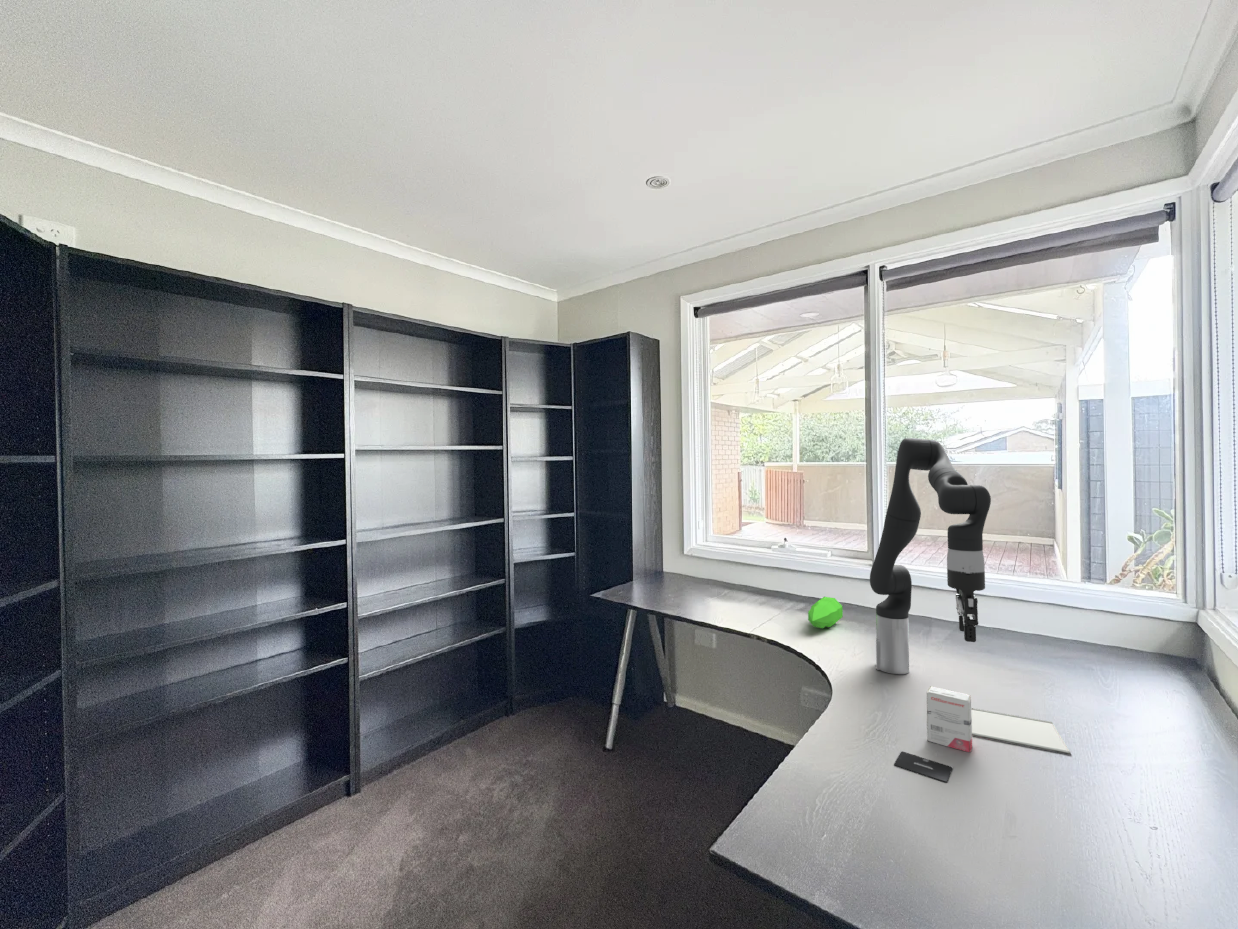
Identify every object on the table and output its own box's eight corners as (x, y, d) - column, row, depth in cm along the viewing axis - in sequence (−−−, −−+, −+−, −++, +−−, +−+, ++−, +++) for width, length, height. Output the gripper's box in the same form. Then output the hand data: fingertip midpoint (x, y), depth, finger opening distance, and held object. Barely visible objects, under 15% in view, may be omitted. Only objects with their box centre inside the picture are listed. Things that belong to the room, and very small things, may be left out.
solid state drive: (901, 754, 119) (901, 751, 119) (953, 770, 112) (952, 767, 112) (893, 767, 114) (893, 764, 114) (947, 785, 107) (947, 782, 107)
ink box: (973, 745, 122) (972, 694, 122) (970, 754, 118) (969, 701, 118) (930, 733, 127) (929, 684, 127) (926, 741, 124) (926, 691, 124)
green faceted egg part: (841, 590, 222) (820, 602, 198) (852, 617, 219) (832, 633, 195) (815, 597, 228) (792, 610, 204) (826, 623, 225) (803, 639, 201)
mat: (945, 731, 128) (945, 728, 128) (940, 704, 142) (940, 702, 142) (1070, 755, 117) (1070, 753, 117) (1051, 723, 131) (1051, 721, 131)
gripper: (943, 562, 133) (945, 626, 133) (950, 572, 120) (952, 643, 120) (979, 564, 130) (980, 630, 130) (990, 574, 117) (992, 647, 117)
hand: (967, 636), depth 125 cm, fingers open, 8 cm apart
